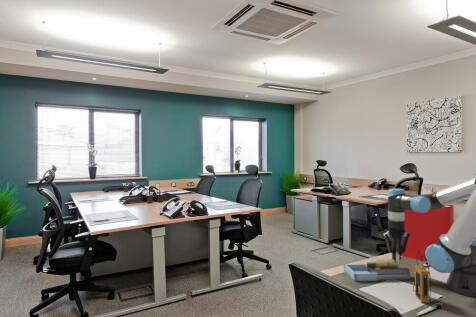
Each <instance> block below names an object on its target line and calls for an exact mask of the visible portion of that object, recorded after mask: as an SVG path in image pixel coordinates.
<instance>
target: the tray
mask: <svg viewBox="0 0 476 317" xmlns="http://www.w3.org/2000/svg"><path fill="white" fill-rule="evenodd" d="M366 266H367V263H350V264H349V263H345V264H343V271H344V273H345V274H346V275H348V276H349V277H350V279H352V280H353V281H354V282H374V281H375V282H376V281H378V280H377V273H369V272H368V271H367V270H366Z"/></svg>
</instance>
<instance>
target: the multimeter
mask: <svg viewBox="0 0 476 317" xmlns="http://www.w3.org/2000/svg"><path fill="white" fill-rule="evenodd" d="M418 253H420V252H419V250H418ZM420 255H421V254H420ZM422 255H424V254H422ZM417 256H418V254H417ZM424 257H425V255H424ZM425 259H426V257H425ZM423 262H424V261H421V260H420V264H418V262H416V264H415V265H414V284H413V286H412V291H413V292H414V293H415V297H417V299H419V301H420V302H421V303H426V304H429V306H430V307H431V308H433V306H432V304H431V302H432V301H430V299H432V300H436V301H438V302H440V304H441V306H442V304H443V303H445V304H447V302H446V301H443V300H441V299H438V298H433V297H431V293H432V292H431V289H432V278H431V273H430V267H429V263H428V262H427V260H426V261H425V262H426V265H427V268H425V267H424V264H423ZM439 308H440V307H438V306H437V307H436V309H439Z"/></svg>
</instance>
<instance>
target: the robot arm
mask: <svg viewBox="0 0 476 317" xmlns="http://www.w3.org/2000/svg"><path fill="white" fill-rule="evenodd" d="M474 175H475V177H473V178H470V179H467V180H465V181H461V182H459V183H455V184H453V185H451V186H448V187H445V188H443V189H440V190H437V191H434V192H431V193H426V194H425V193H424V194H407V193H406V190H405V189H402V188H390V189H388V192H387V219H388V220H387V227H388V228H387V231H386V232H383V233H382V236H383V238H384V239H385V243H386V247H387V251H388V252H389V253H390V254H391V259H393V260H395V261H397V262H398V267H400V261H402V256H401V255H402V253H405V250H406V245H407V241H408V238H409V236H410V234H408V233H406V232H405V229H404V228H405V221H404V220H405V210H410V211H415V212H418V213H419V212H421V213H426V212H427V211H428V210H432V209H441V208H444V207H445V206H447V205H453V204H457V203H459V202H462V201H465V200H467V201H466V202H465V204H464V206H463V208H462V209H461V210H460V212H459V213H458V215H457V217H456V219H454V223H453V225H452V226H451V228H450V229H449V231H448V233H447V234H442V235H441V236H440V237H439V239H438V240H437V242H436V243H435V244H432V245H430V246H428V247H427V249H426V252H425V255H426V258H427V262H426V263H428V266H430V267H431V268H432V269H433V270H434V271H436V272H438V273H440V274H449V275H448V278H447V279H446V287H447V288H448V289H449V290H450V291H453V292H455V293H457V294H460V295H462V296H468V297H472V298H473V297H474V298H476V168H475V169H474ZM403 235H404V236H403ZM402 236H403V239H402ZM401 241H402V244H401ZM396 245H397V249H396Z"/></svg>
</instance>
